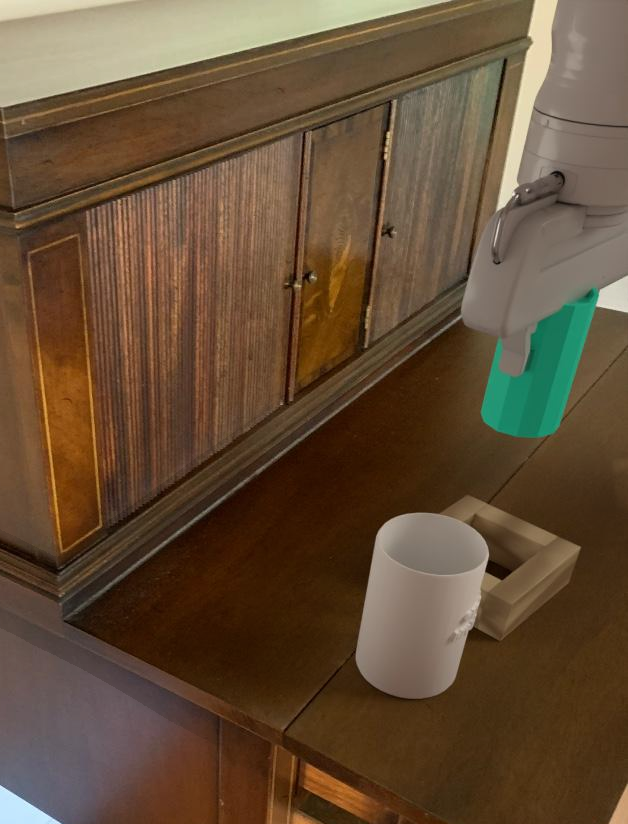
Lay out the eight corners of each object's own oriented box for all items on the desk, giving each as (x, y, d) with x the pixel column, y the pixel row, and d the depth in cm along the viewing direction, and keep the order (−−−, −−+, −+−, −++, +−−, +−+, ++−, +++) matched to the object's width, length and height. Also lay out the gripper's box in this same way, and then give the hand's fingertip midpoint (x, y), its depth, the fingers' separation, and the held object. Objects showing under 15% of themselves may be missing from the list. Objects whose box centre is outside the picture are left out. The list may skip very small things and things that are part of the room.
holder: (568, 583, 82) (581, 546, 79) (500, 641, 76) (511, 604, 73) (459, 529, 88) (467, 494, 86) (387, 579, 82) (394, 543, 80)
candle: (537, 398, 75) (579, 250, 67) (573, 434, 70) (623, 279, 63) (468, 404, 74) (502, 254, 67) (500, 440, 70) (541, 284, 62)
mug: (465, 613, 79) (497, 495, 71) (455, 710, 70) (491, 586, 62) (368, 595, 80) (389, 478, 73) (348, 687, 72) (369, 564, 64)
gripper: (555, 202, 53) (499, 418, 62) (704, 144, 64) (639, 334, 73) (461, 179, 56) (421, 386, 65) (617, 128, 67) (565, 311, 76)
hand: (537, 358), depth 69 cm, fingers closed on candle, 5 cm apart
